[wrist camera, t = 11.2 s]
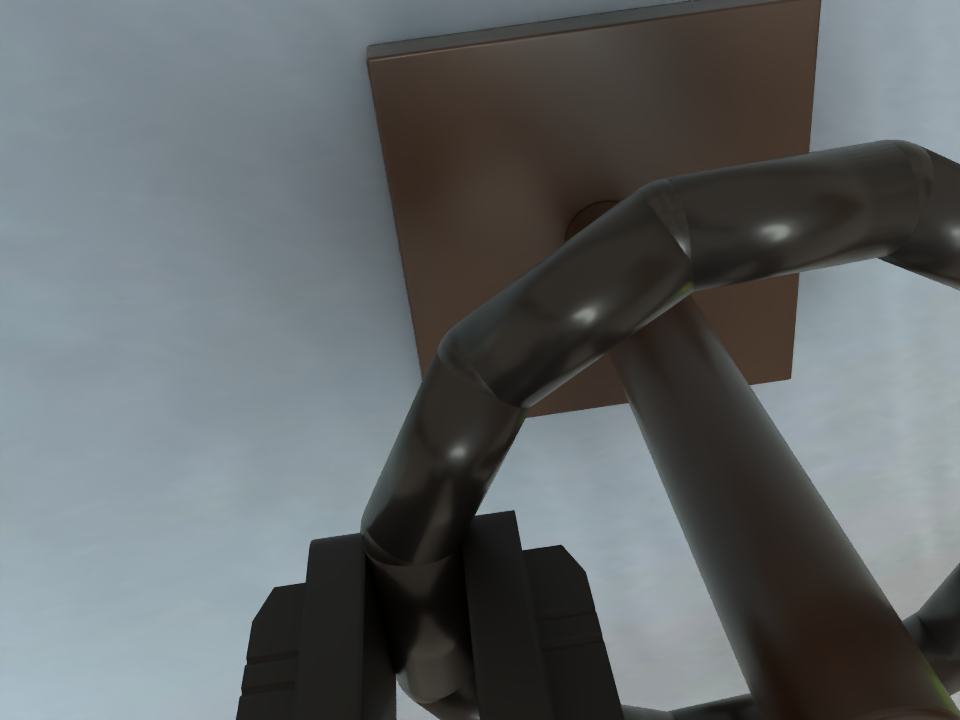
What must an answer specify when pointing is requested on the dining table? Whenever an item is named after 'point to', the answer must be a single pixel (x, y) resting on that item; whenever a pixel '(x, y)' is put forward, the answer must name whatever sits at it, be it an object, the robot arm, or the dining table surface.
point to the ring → (601, 327)
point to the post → (678, 331)
